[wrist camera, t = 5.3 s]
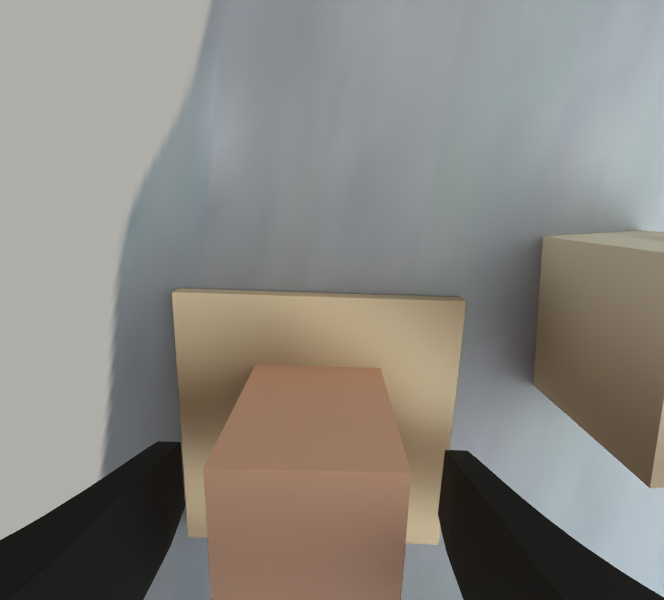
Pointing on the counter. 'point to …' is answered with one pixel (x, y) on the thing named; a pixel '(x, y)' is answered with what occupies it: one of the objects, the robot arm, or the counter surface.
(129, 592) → the robot arm
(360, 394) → the terracotta cube
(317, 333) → the cork coaster
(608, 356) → the beech block
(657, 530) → the counter surface
